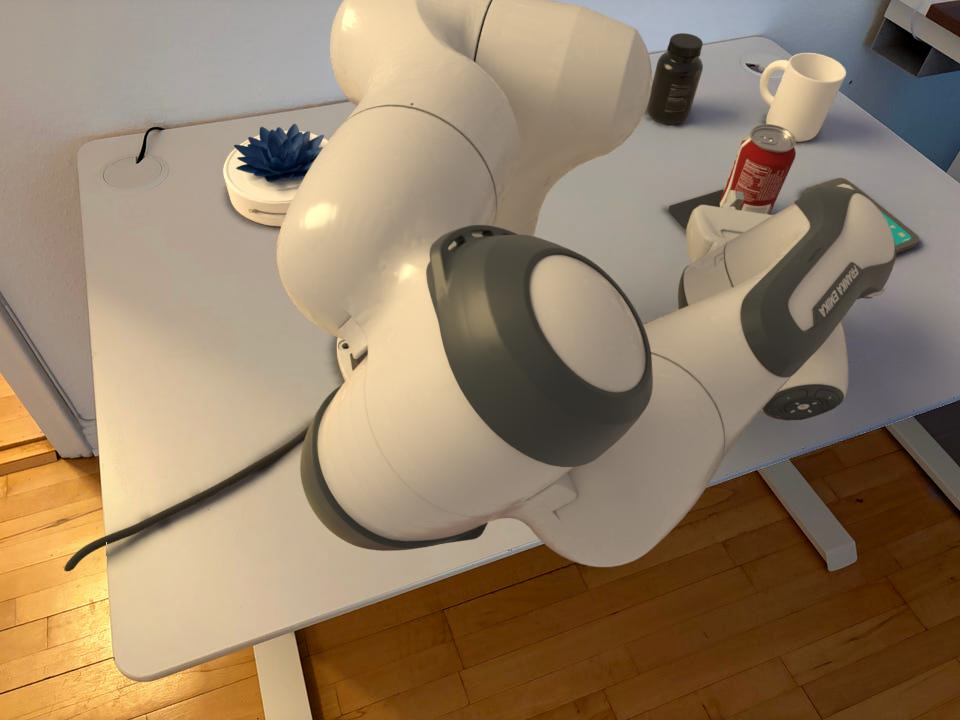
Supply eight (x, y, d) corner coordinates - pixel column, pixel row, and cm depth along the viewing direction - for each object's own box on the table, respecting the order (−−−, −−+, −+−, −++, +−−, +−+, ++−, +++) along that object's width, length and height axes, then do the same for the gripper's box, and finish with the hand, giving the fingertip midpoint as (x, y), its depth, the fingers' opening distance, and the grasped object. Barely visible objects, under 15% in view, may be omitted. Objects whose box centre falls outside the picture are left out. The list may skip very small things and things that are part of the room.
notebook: (711, 257, 94) (714, 251, 93) (667, 211, 100) (669, 204, 99) (781, 233, 98) (785, 227, 97) (735, 190, 103) (738, 184, 103)
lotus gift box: (197, 137, 93) (272, 220, 84) (302, 100, 100) (383, 173, 91) (209, 180, 99) (282, 263, 90) (309, 142, 105) (386, 215, 96)
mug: (735, 112, 116) (757, 51, 108) (766, 97, 119) (790, 36, 111) (796, 149, 110) (824, 88, 102) (827, 132, 114) (857, 71, 106)
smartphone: (845, 174, 105) (924, 238, 97) (842, 180, 106) (921, 244, 98) (800, 189, 102) (878, 256, 94) (798, 195, 103) (875, 261, 95)
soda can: (768, 232, 96) (803, 157, 87) (717, 224, 97) (746, 149, 88) (766, 200, 100) (799, 125, 91) (717, 192, 101) (744, 117, 92)
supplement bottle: (694, 111, 116) (717, 38, 106) (678, 131, 112) (700, 57, 103) (655, 96, 118) (674, 24, 108) (638, 116, 114) (656, 42, 105)
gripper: (903, 278, 72) (879, 192, 81) (698, 247, 73) (696, 166, 82) (873, 320, 77) (854, 235, 85) (682, 290, 78) (681, 209, 87)
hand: (775, 201), depth 84 cm, fingers open, 8 cm apart
